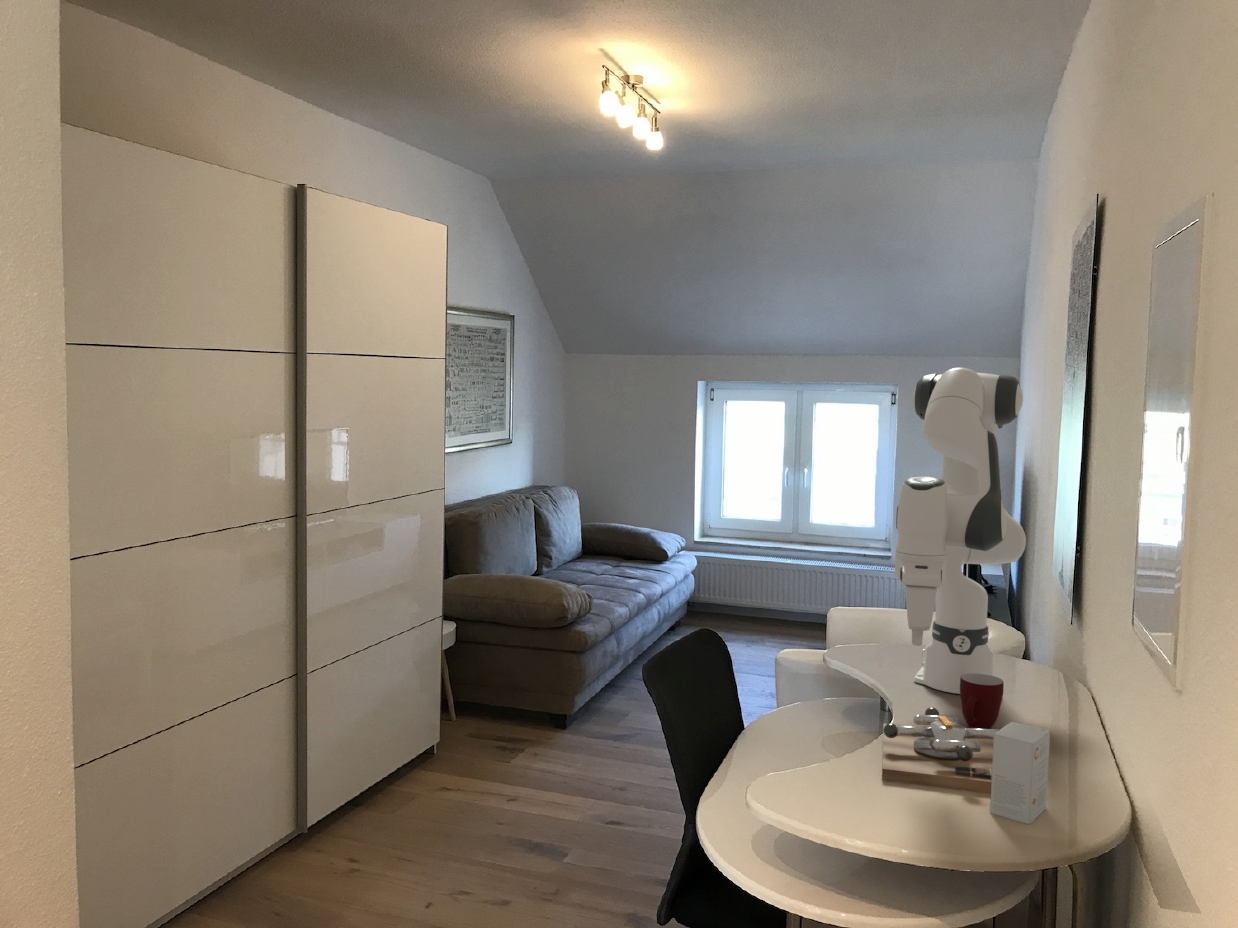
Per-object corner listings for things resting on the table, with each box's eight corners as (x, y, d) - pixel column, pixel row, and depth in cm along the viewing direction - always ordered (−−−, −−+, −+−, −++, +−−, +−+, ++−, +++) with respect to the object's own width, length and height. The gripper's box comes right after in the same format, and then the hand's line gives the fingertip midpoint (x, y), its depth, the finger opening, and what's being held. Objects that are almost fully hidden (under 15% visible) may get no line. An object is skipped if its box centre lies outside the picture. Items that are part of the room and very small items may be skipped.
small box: (1006, 797, 163) (1011, 720, 162) (1047, 809, 159) (1051, 729, 158) (988, 813, 157) (992, 732, 156) (1029, 825, 153) (1034, 743, 152)
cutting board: (883, 733, 192) (883, 715, 192) (1003, 746, 186) (1004, 728, 186) (881, 779, 169) (882, 759, 169) (1019, 796, 163) (1021, 776, 163)
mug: (993, 742, 188) (996, 691, 188) (950, 733, 193) (952, 683, 192) (1004, 727, 197) (1007, 677, 197) (963, 718, 202) (965, 670, 201)
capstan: (989, 730, 188) (990, 705, 188) (1034, 777, 166) (1036, 748, 165) (869, 726, 189) (870, 701, 189) (898, 772, 167) (899, 743, 166)
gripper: (901, 557, 188) (898, 628, 189) (902, 576, 169) (898, 656, 170) (936, 559, 187) (932, 631, 188) (941, 579, 167) (937, 659, 168)
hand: (916, 643), depth 179 cm, fingers closed
